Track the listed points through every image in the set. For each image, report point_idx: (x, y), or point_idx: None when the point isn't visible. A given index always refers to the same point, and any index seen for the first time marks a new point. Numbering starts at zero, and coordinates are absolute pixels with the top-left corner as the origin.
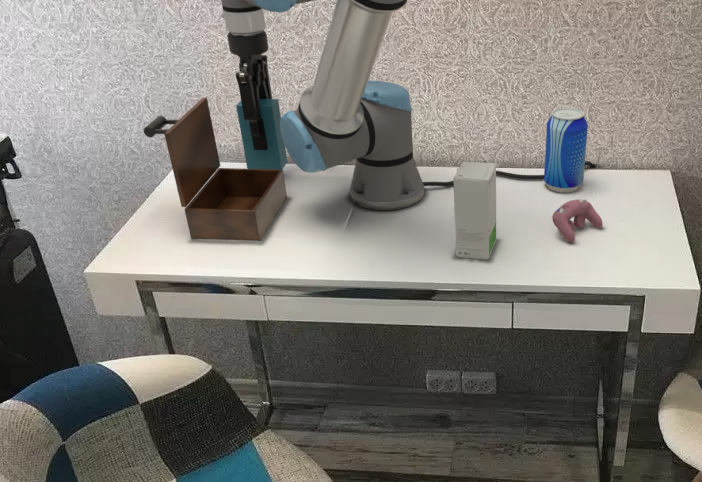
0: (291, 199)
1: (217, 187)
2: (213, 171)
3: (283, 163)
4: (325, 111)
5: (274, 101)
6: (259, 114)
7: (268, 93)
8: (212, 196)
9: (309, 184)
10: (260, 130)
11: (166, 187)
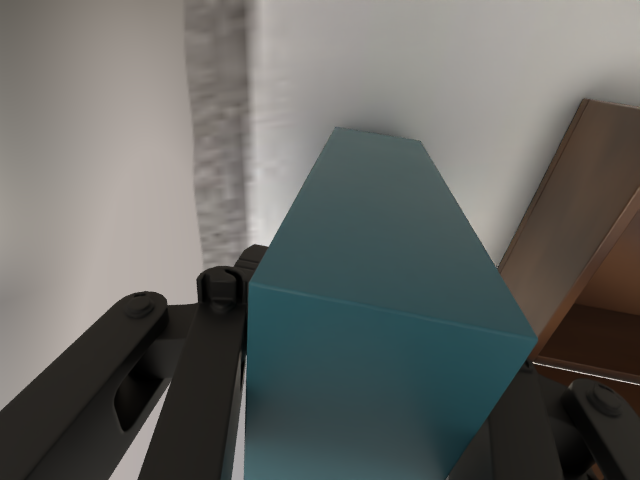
0: (589, 81)
1: (578, 335)
2: (608, 385)
3: (387, 138)
4: None
5: (338, 319)
6: (520, 386)
7: (119, 377)
8: (628, 340)
9: (456, 16)
10: None
11: None
